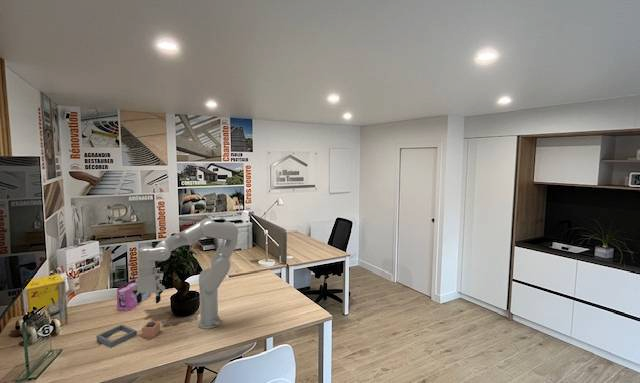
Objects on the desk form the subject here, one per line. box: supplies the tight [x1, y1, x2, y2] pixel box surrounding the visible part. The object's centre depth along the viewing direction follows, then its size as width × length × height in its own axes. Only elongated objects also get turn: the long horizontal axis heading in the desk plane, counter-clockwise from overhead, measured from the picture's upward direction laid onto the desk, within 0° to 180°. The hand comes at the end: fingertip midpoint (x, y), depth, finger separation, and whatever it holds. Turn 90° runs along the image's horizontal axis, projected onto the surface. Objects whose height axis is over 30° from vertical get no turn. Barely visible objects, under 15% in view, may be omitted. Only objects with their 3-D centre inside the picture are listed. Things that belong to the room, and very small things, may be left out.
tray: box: [95, 324, 138, 348], centre depth 172 cm, size 13×13×4 cm
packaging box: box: [22, 273, 69, 327], centre depth 186 cm, size 16×16×25 cm
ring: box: [141, 321, 161, 338], centre depth 177 cm, size 6×8×5 cm
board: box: [137, 321, 165, 341], centre depth 176 cm, size 9×9×7 cm
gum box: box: [116, 277, 151, 312], centre depth 214 cm, size 24×8×14 cm, turn 175°
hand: (148, 302), depth 174 cm, fingers open, 9 cm apart
